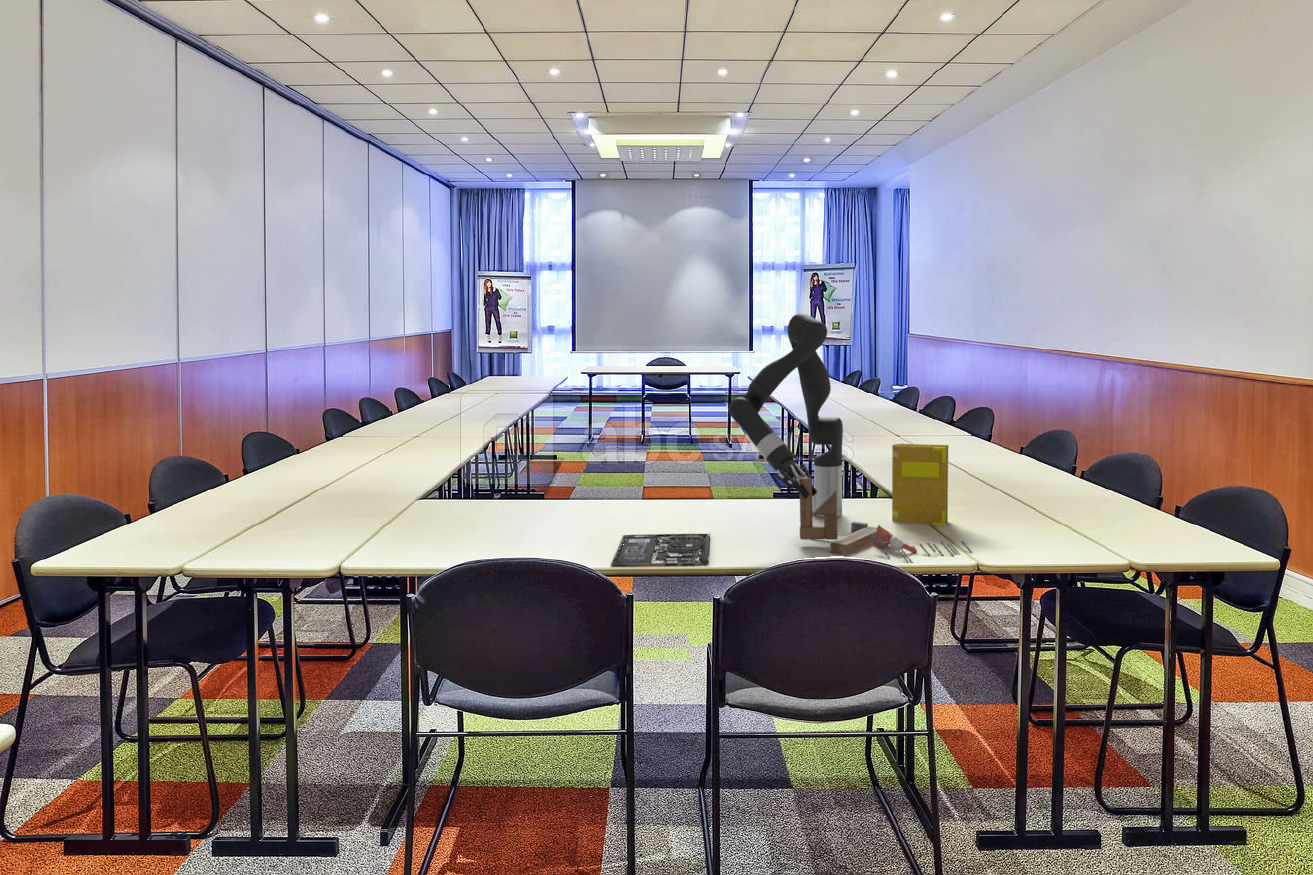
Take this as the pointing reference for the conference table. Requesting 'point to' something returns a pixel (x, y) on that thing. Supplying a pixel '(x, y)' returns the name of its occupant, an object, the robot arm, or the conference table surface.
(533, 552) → the conference table surface
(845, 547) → the walnut rail
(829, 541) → the end pad
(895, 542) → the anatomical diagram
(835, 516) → the wooden block
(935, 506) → the book
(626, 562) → the laptop interior
